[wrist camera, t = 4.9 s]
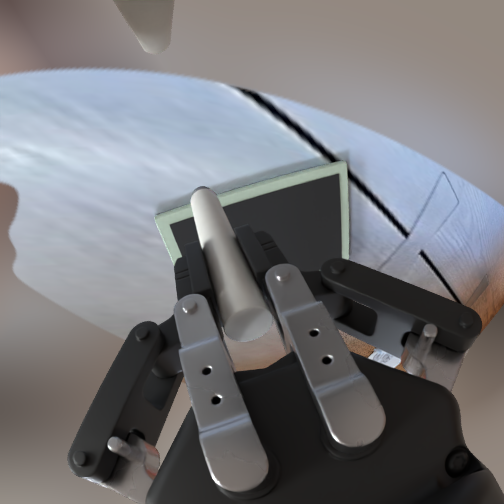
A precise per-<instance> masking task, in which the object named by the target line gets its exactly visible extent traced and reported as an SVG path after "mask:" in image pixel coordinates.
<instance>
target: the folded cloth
mask: <svg viewBox="0 0 504 504" xmlns="http://www.w3.org/2000/svg"><path fill="white" fill-rule="evenodd" d="M368 358H369V359H371V360H374V361H376V362H379V363H382V364H384V365H387V366H390V367H393V368H395V367H396V366H397V365H398V364H399V363H400V362H401V359H399V358H397V357H395V356H393V355H391V354H388V353H386V352H384V351H382V350H380V349H376V351H375V349H374V353H372V354H371V355H370V356H369V357H368Z"/></svg>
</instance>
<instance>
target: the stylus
mask: <svg viewBox="0 0 504 504" xmlns="http://www.w3.org/2000/svg"><path fill="white" fill-rule="evenodd" d="M191 207H192V211H193V215H194V220H195V224H196V228H197V232H198V236H199V240H200V244H201V247H202V250H203V253H204V257H205V261H206V265H207V268H208V272H209V276H210V280H211V283H212V287H213V290H214V294H215V298H216V301H217V307H218V311H219V315H220V318H221V321H222V325H223V328H224V332H225V334H226V335H227V336H228V337H229V338H230V339H232V340H235V341H241V342H244V341H251V340H254V339H257V338H259V337H261V336H262V335H264V334H265V333H266V332H267V331H268V330H269V329H270V328H271V326H272V324H273V314H272V312H271V309H270V307H269V305H268V303H267V301H266V299H265V297H264V295H263V293H262V291H261V289H260V288H259V286H258V284H257V282H256V280H255V277H254V275H253V273H252V271H251V269H250V267H249V265H248V262H247V260H246V258H245V256H244V254H243V252H242V250H241V248H240V245H239V243H238V241H237V239H236V236H235V233H234V231H233V229H232V227H231V225H230V223H229V221H228V219H227V216H226V214H225V212H224V210H223V208H222V206H221V204H220V201H219V199H218V197H217V195H216V193H215V192H214V191H212V190H210V189H209V188H208V187H205V186H201V187H198V188H196V189H195V190H194V192H193V194H192V198H191Z"/></svg>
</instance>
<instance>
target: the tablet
mask: <svg viewBox="0 0 504 504" xmlns="http://www.w3.org/2000/svg"><path fill="white" fill-rule="evenodd" d="M217 197H218V199H219V201H220V204H221V206H222V208H223V210H224V212H225V214H226V216H227V219H228V221H229V223H230V225H231V227H232V229H233V231H234V228H237V227H240V226H243V225H247V224H249V225H250V227H251V229H252V230H253V232H254V233H255V232H258V231H261V230H263V231H264V232H266V233H268V234H270V235H271V237H272V238H273V240H274V242H275V243H276V244H277V246H278V247H279V249H280V250H281V252H282V253H283V255H284V256H285V258H286V259H287V261H288V262H289V264H291V265H294V266H296V267H297V268H298V269H299V271H306V272H308V271H318V270H321V266H322V264H323V263H324V262H325V261H327V260H329V259H332V258H344V259H347V260H349V200H348V175H347V162H345V161H343V160H342V161H338V162H334V163H330V164H326V165H322V166H318V167H314V168H310V169H306V170H302V171H298V172H294V173H290V174H287V175H283V176H279V177H276V178H272V179H269V180H265V181H262V182H258V183H255V184H251V185H248V186H244V187H241V188H238V189H234V190H231V191H228V192H225V193H222V194H218V195H217ZM155 222H156V224H157V226H158V229H159V231H160V234H161V236H162V238H163V241H164V243H165V245H166V248H167V250H168V252H169V255H170V257H171V259H172V261H173V264H174V265H175V262H176V260H177V258H180V257H183V256H186V252H185V245H186V244H189V243H192V242H195V241H198V240H199V236H198V232H197V228H196V224H195V220H194V215H193V211H192V207H191V204H188V205H185V206H182V207H179V208H176V209H173V210H170V211H167V212H164V213H161V214H159V215H156V216H155ZM234 233H235V232H234ZM199 242H200V240H199Z"/></svg>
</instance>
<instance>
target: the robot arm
mask: <svg viewBox="0 0 504 504" xmlns="http://www.w3.org/2000/svg"><path fill="white" fill-rule="evenodd" d="M234 232H235V236H236V239H237V241H238V243H239V245H240V248H241V250H242V252H243V254H244V256H245V258H246V260H247V262H248V265H249V267H250V269H251V271H252V273H253V275H254V277H255V280H256V282H257V284H258V286H259V288H260V289H261V291H262V293H263V295H264V297H265V299H266V301H267V303H268V305H269V307H270V309H271V312H272V314H273V316H274V321H275V324H276V327H277V330H278V333H279V335H280V338H281V341H282V343H283V346H284V349H285V351H286V354H287V355H286V356H284V357H283V358H281V359H280V360H278V361H277V362H275V363H273V364H272V365H270V366H269V367H267V368H264V369H256V370H247V371H236V368H235V366H234V363H233V361H232V358H231V356H230V353H229V350H228V348H227V345H226V343H225V340H224V336H223V332H222V328H221V327H223V325H222V321H221V318H220V315H219V311H218V307H217V301H216V298H215V294H214V290H213V287H212V283H211V280H210V276H209V272H208V268H207V265H206V261H205V257H204V253H203V250H202V247H201V244H200V242H199V240H198V241H195V242H192V243H189V244H186V245H185V252H186V256H183V257H180V258H177V260H176V262H175V265H174V272H175V280H176V290H177V298H178V302H177V303H176V305H175V307H174V314H173V315H172V317H170V318H169V319H168V320H166V321H165V322H163V323H161V324H160V325H157V324H156V323H154V322H151V321H146V322H142V323H140V324H138V325H136V326H135V327H134V328H133V329H132V330H131V332H130V333H129V335H128V337H127V339H126V340H125V342H124V344H123V346H122V348H121V350H120V351H119V353H118V355H117V357H116V358H115V360H114V362H113V364H112V366H111V367H110V369H109V371H108V373H107V375H106V377H105V379H104V381H103V383H102V384H101V386H100V388H99V390H98V392H97V394H96V396H95V398H94V400H93V402H92V404H91V406H90V408H89V410H88V412H87V414H86V416H85V418H84V420H83V422H82V424H81V426H80V429H79V431H78V433H77V435H76V437H75V439H74V441H73V444H72V446H71V448H70V450H69V453H68V465H69V468H70V469H71V471H72V472H73V473H74V474H75V475H76V476H78V477H81V478H84V479H86V480H89V481H91V482H92V483H95V484H98V485H101V486H104V487H107V488H110V489H112V490H114V491H116V492H117V493H119V494H121V495H123V496H124V497H126V498H128V499H130V500H132V501H134V502H136V503H138V504H504V494H503V492H502V490H501V489H500V487H499V485H498V483H497V481H496V479H495V477H494V476H493V474H492V473H491V472H490V470H489V469H488V468H486V466H485V465H483V464H482V463H481V462H480V461H479V460H478V459H477V458H476V457H475V456H474V455H473V454H472V453H471V452H470V451H469V449H468V448H467V446H466V444H465V440H464V437H463V433H462V428H461V415H460V409H459V405H458V402H457V400H456V398H455V397H454V395H453V394H452V393H451V391H452V388H453V386H454V383H455V381H456V378H457V375H458V373H459V370H460V367H461V365H462V362H463V359H464V357H465V355H466V354H467V352H468V351H469V349H470V347H471V346H472V344H473V343H474V341H475V339H476V338H477V336H478V335H479V333H480V331H481V329H482V321H481V318H480V316H479V315H478V314H477V312H475V311H474V310H473V309H471V308H469V307H466V306H464V305H462V304H459V303H457V302H454V301H452V300H449V299H447V298H444V297H442V296H440V295H437V294H435V293H432V292H430V291H427V290H425V289H422V288H420V287H417V286H415V285H412V284H410V283H407V282H404V281H402V280H399V279H397V278H394V277H392V276H389V275H387V274H384V273H381V272H379V271H376V270H374V269H371V268H368V267H366V266H363V265H360V264H358V263H355V262H352V261H350V260H347V259H344V258H332V259H329V260H327V261H325V262H324V263H323V264H322V266H321V270H318V271H308V272H306V271H299V269H298V268H297V267H296V266H294V265H291V264H289V262H288V261H287V259H286V258H285V256H284V255H283V253H282V252H281V250H280V249H279V247H278V246H277V244H276V243H275V242H274V240H273V238H272V237H271V235H270V234H268V233H266V232H264V231H263V230H261V231H258V232H255V233H254V232H253V230H252V229H251V227H250V225H249V224H247V225H243V226H240V227H237V228H234ZM353 300H354V301H353ZM355 301H356V302H355ZM358 302H359V303H358ZM360 303H361V304H360ZM362 304H363V305H362ZM364 305H366V306H364ZM367 306H368V307H367ZM369 307H370V308H369ZM371 308H372V309H371ZM338 329H339V330H341V331H343V332H345V333H347V334H349V335H351V336H353V337H355V338H357V339H359V340H362V341H364V342H366V343H368V344H370V345H372V346H374V347H376V348H378V349H380V350H382V351H384V352H386V353H388V354H391V355H393V356H395V357H397V358H399V359H401V364H402V366H403V368H404V369H405V370H406V372H407V373H406V372H404V371H401V370H398V369H395V368H393V367H390V366H387V365H384V364H382V363H379V362H376V361H374V360H371V359H369V358H366V357H363V356H361V355H358V354H356V353H353V352H351V351H349V350H348V348H347V346H346V344H345V342H344V340H343V339H342V337H341V335H340V333H339V331H338ZM183 377H185V381H186V385H187V389H188V393H189V396H190V400H191V404H192V406H191V408H190V410H189V412H188V413H187V415H186V418H185V419H184V421H183V423H182V425H181V427H180V429H179V431H178V433H177V435H176V437H175V439H174V441H173V443H172V445H171V447H170V449H169V451H168V453H167V455H166V457H165V459H164V461H163V463H162V465H161V467H160V469H159V470H158V468H159V466H160V456H159V452H158V450H157V449H156V448H155V446H156V443H157V441H158V438H159V436H160V433H161V431H162V428H163V426H164V423H165V421H166V418H167V416H168V413H169V411H170V409H171V406H172V403H173V401H174V398H175V396H176V394H177V391H178V389H179V387H180V384H181V382H182V379H183Z"/></svg>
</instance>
